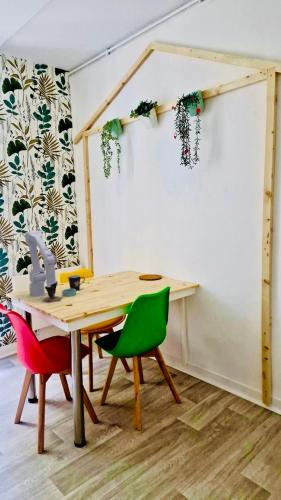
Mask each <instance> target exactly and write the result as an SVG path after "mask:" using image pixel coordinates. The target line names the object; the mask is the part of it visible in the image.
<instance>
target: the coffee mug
mask: <svg viewBox="0 0 281 500" xmlns="http://www.w3.org/2000/svg"><path fill="white" fill-rule="evenodd" d="M67 278H68V284H69V289H76V292H79V291H80V287H81V285H83V284H84V282H85V277H84V276H81V275H78V274H77V275H75V274H74V275H69V276H68V277H67ZM82 278H83V280H82V282H81V279H82Z"/></svg>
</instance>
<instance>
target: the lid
mask: <svg viewBox="0 0 281 500" xmlns="http://www.w3.org/2000/svg"><path fill="white" fill-rule="evenodd" d="M60 297H61V296H55V294H54V291H53V297H49V296H48V297H45V298H43V300H44V301H46V302H45V303H53V301H58V300H60Z"/></svg>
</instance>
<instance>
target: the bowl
mask: <svg viewBox="0 0 281 500" xmlns="http://www.w3.org/2000/svg"><path fill="white" fill-rule="evenodd" d="M76 295H77V291H76V289H70V288H66V289H62V290H61V297H63V298H69V297H75V296H76Z"/></svg>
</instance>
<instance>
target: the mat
mask: <svg viewBox="0 0 281 500" xmlns="http://www.w3.org/2000/svg"><path fill="white" fill-rule="evenodd" d="M59 297H60V300H58V301H53V302H54V303H56V302H62V300H63V299H64V296H59ZM53 302H52V303H53ZM41 303H47V302H46V301H44V299H43V300H41Z"/></svg>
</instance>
